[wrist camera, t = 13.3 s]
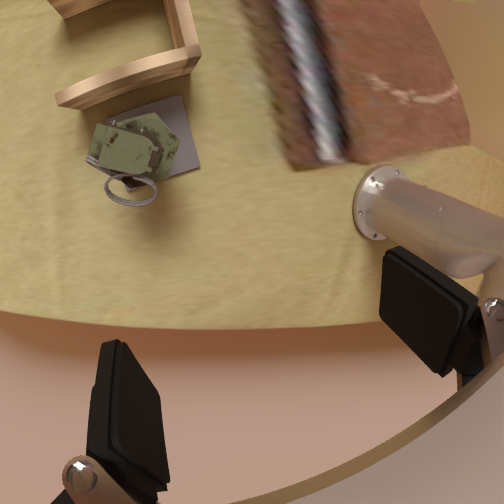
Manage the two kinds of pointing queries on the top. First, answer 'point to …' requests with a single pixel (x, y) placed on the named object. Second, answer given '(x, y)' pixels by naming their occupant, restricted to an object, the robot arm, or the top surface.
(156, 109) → the coaster
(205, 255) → the top surface
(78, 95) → the light wood u-shaped frame
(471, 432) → the robot arm
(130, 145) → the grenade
